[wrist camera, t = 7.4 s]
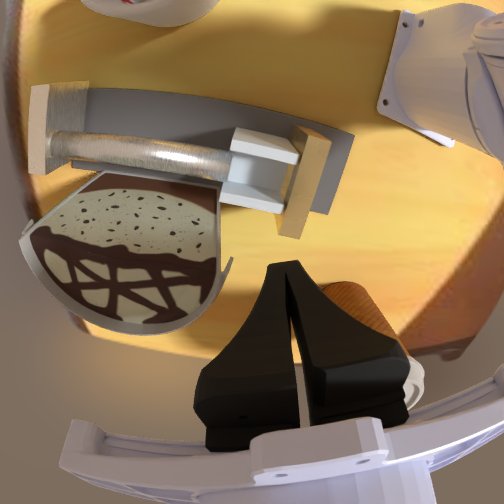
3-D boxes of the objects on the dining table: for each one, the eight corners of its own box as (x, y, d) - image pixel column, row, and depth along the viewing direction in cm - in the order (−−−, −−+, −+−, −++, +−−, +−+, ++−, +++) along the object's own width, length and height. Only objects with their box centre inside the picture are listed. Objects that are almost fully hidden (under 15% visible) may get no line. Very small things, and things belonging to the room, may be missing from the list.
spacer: (293, 123, 18) (308, 135, 14) (311, 128, 18) (331, 142, 14) (271, 200, 21) (278, 235, 17) (288, 204, 22) (299, 239, 17)
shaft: (72, 81, 15) (31, 85, 11) (247, 96, 17) (246, 98, 13) (66, 153, 18) (28, 173, 14) (228, 176, 20) (222, 203, 16)
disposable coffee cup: (294, 343, 31) (308, 443, 20) (289, 274, 26) (310, 393, 15) (376, 329, 30) (409, 419, 20) (388, 260, 25) (447, 359, 15)
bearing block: (236, 126, 19) (232, 139, 14) (286, 137, 19) (299, 154, 14) (226, 173, 21) (218, 201, 16) (273, 183, 21) (281, 214, 16)
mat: (80, 88, 16) (78, 88, 16) (353, 134, 19) (354, 135, 19) (75, 166, 20) (72, 168, 19) (326, 212, 22) (327, 214, 22)
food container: (93, 231, 23) (38, 313, 15) (88, 167, 19) (11, 239, 11) (226, 256, 25) (214, 357, 16) (240, 190, 21) (231, 285, 13)
